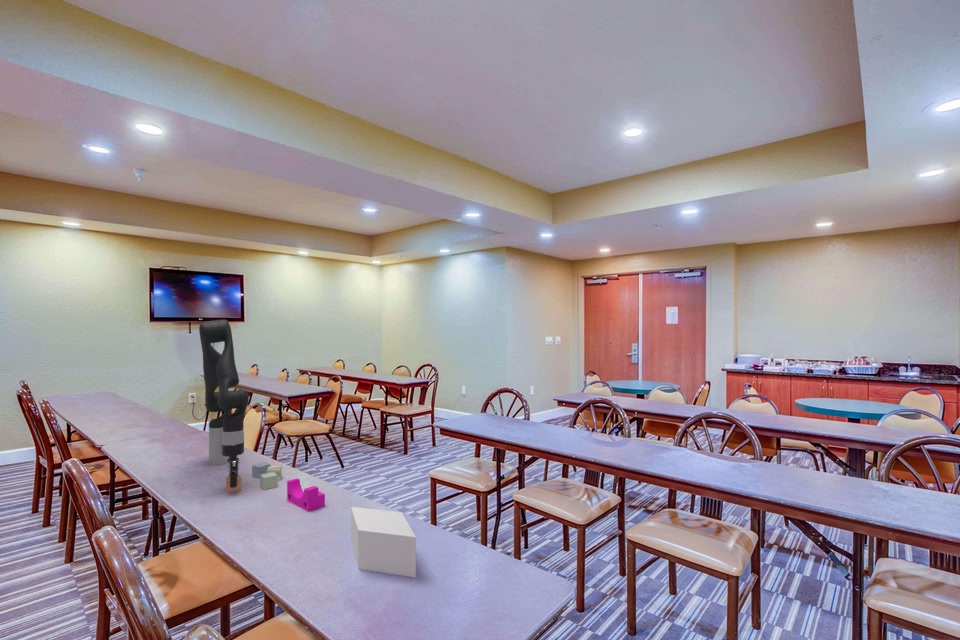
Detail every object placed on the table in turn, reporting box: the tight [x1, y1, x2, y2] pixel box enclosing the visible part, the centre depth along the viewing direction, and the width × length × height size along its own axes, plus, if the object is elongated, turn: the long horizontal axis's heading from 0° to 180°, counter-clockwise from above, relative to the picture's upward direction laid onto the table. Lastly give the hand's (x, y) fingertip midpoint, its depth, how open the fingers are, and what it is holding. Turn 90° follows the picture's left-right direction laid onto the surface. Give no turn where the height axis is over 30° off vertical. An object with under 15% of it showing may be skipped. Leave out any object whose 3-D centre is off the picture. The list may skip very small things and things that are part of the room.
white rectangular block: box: [350, 506, 417, 578], centre depth 121 cm, size 14×29×10 cm, turn 50°
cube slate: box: [251, 461, 271, 479], centre depth 186 cm, size 5×5×5 cm
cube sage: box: [259, 472, 279, 491], centre depth 173 cm, size 5×5×5 cm
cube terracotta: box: [225, 474, 242, 494], centre depth 170 cm, size 5×5×5 cm
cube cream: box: [267, 465, 283, 482], centre depth 182 cm, size 5×5×5 cm
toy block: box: [286, 477, 326, 512], centre depth 158 cm, size 15×6×8 cm, turn 50°
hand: (232, 483), depth 170 cm, fingers open, 8 cm apart
